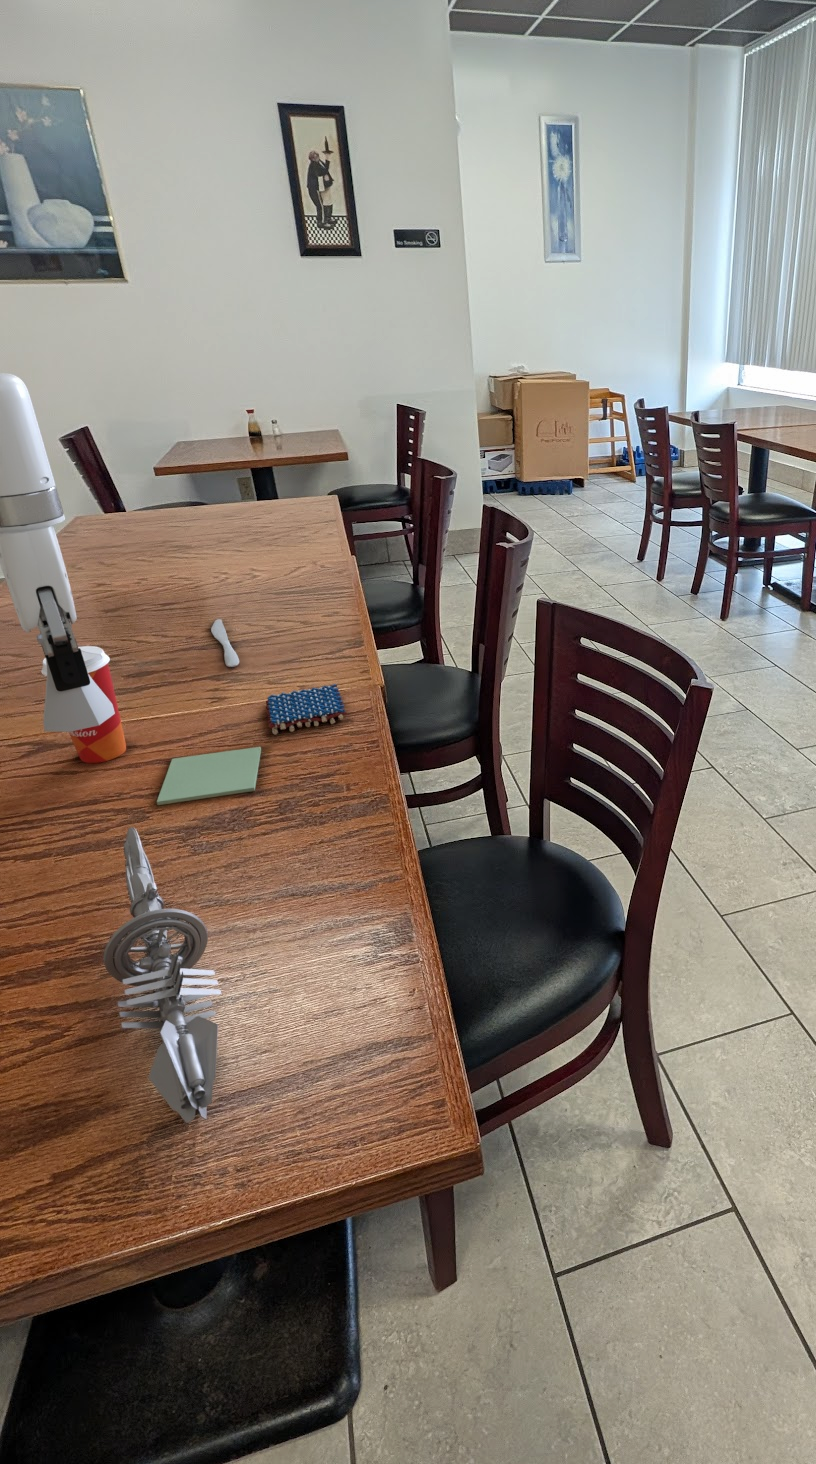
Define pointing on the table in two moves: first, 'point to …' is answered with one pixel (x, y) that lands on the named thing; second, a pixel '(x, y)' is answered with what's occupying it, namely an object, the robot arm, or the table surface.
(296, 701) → the woven mat
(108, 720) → the paper cup
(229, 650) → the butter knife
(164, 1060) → the spaceship
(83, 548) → the table surface
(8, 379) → the robot arm
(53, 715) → the flask
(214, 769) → the coaster
